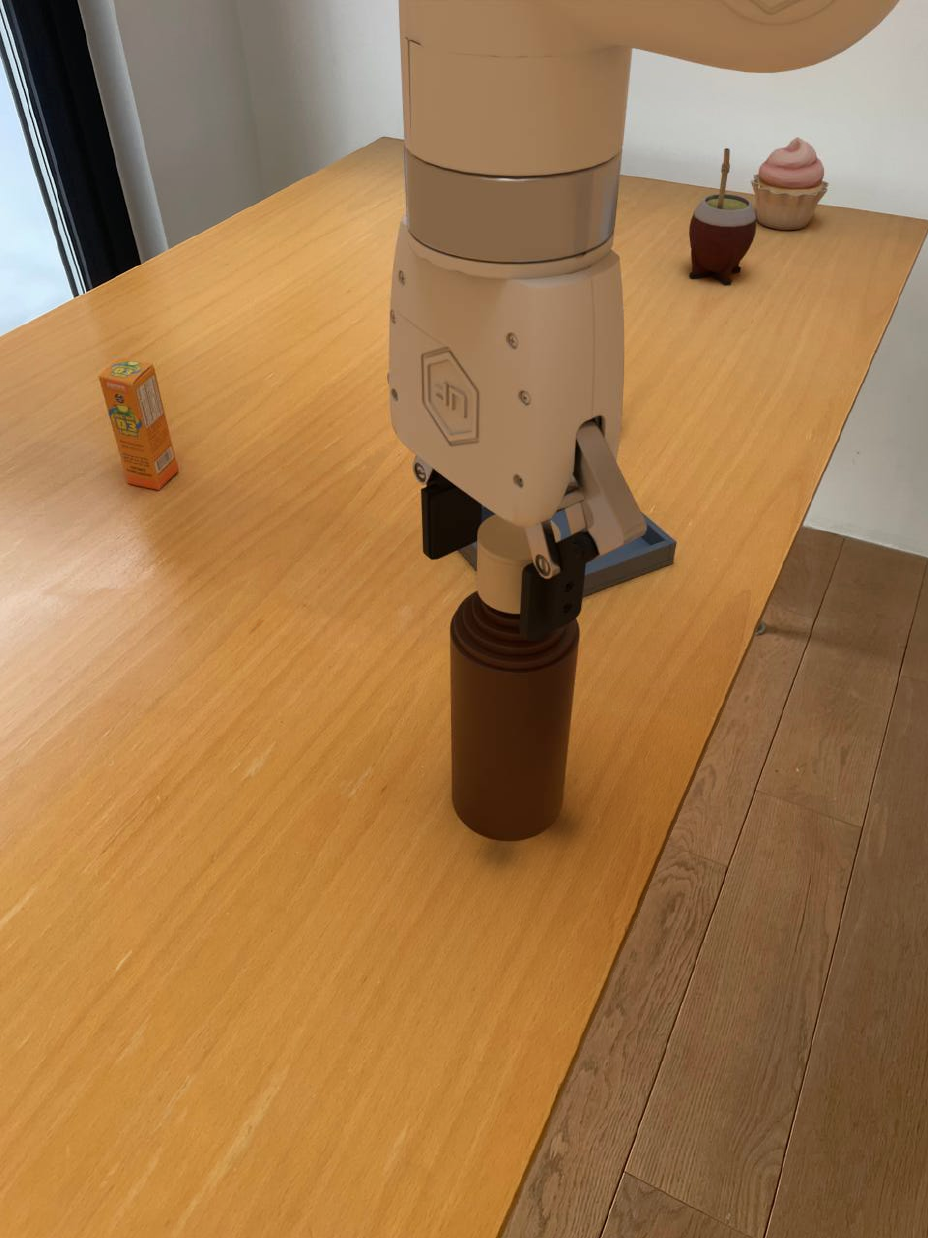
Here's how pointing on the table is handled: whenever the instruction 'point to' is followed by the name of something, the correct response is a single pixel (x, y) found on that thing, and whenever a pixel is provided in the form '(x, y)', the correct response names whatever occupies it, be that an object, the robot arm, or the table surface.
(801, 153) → the cupcake
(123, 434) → the supplement box
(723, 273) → the mate gourd
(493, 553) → the cap
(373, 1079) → the table surface
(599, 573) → the tray
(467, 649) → the bottle
